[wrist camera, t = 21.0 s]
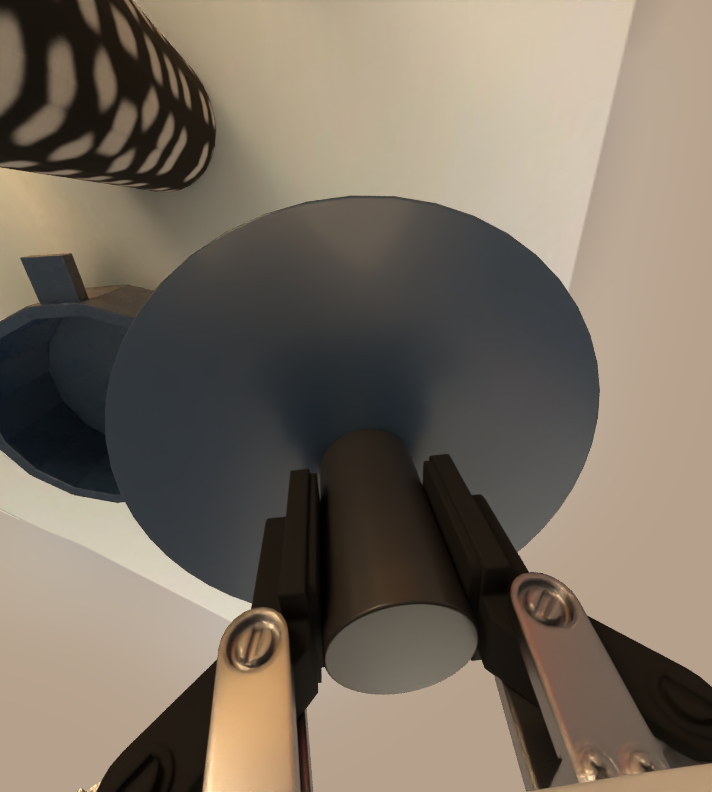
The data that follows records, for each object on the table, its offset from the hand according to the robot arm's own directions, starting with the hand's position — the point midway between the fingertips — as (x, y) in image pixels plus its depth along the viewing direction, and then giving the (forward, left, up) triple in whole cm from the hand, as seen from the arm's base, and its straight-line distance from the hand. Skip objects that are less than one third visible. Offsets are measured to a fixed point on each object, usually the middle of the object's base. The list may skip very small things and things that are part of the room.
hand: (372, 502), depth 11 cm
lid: (0, 0, -2) cm, 2 cm away
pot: (-17, -4, -22) cm, 28 cm away
